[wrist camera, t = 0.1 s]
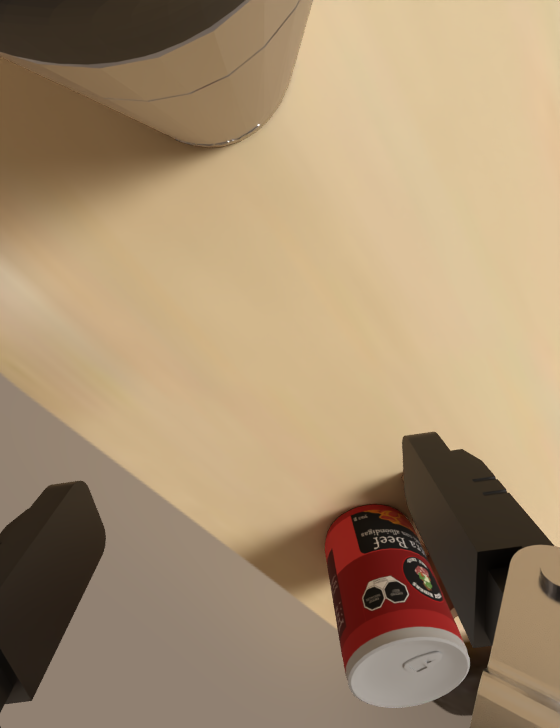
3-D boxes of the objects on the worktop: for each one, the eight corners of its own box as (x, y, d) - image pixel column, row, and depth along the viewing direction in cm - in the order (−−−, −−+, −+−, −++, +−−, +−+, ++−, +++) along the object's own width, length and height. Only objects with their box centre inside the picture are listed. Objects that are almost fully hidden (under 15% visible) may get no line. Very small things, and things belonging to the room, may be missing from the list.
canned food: (429, 521, 35) (497, 659, 25) (374, 576, 37) (414, 720, 27) (359, 487, 33) (402, 622, 23) (306, 548, 35) (323, 692, 25)
